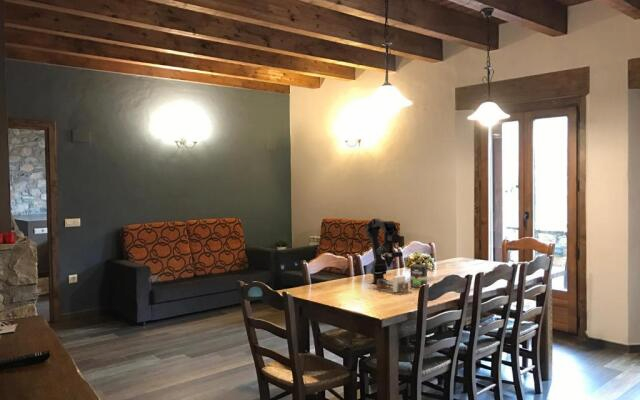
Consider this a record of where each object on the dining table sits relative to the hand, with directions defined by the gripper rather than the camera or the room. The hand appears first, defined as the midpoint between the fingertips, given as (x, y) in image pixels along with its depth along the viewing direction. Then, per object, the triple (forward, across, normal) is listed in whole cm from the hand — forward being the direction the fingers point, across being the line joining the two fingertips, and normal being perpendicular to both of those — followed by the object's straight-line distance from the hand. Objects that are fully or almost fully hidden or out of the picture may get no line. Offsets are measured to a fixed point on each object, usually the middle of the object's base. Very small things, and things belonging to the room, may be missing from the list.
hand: (388, 267), depth 327 cm
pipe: (+13, +8, -5) cm, 16 cm away
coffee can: (+13, +12, +14) cm, 23 cm away
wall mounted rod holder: (+13, +8, -5) cm, 16 cm away
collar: (+13, +14, -5) cm, 19 cm away
